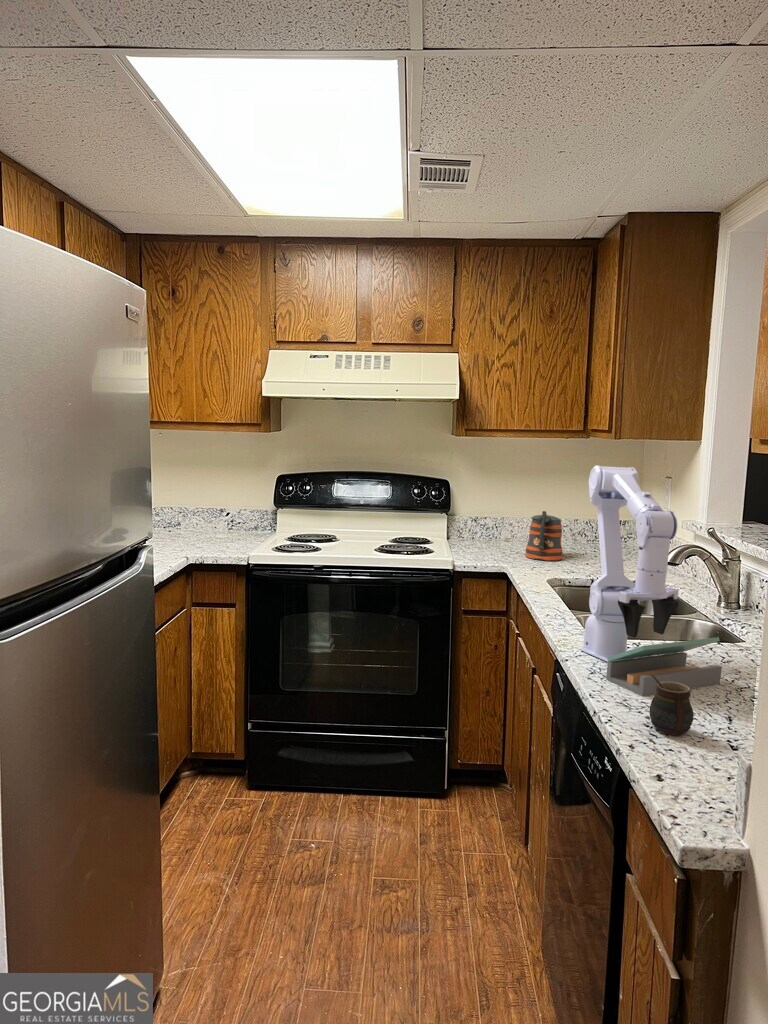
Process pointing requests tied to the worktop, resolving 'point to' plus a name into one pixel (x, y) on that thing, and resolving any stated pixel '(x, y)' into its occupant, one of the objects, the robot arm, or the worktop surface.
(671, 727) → the mate gourd
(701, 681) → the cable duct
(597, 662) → the worktop surface
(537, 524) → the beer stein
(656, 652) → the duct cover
